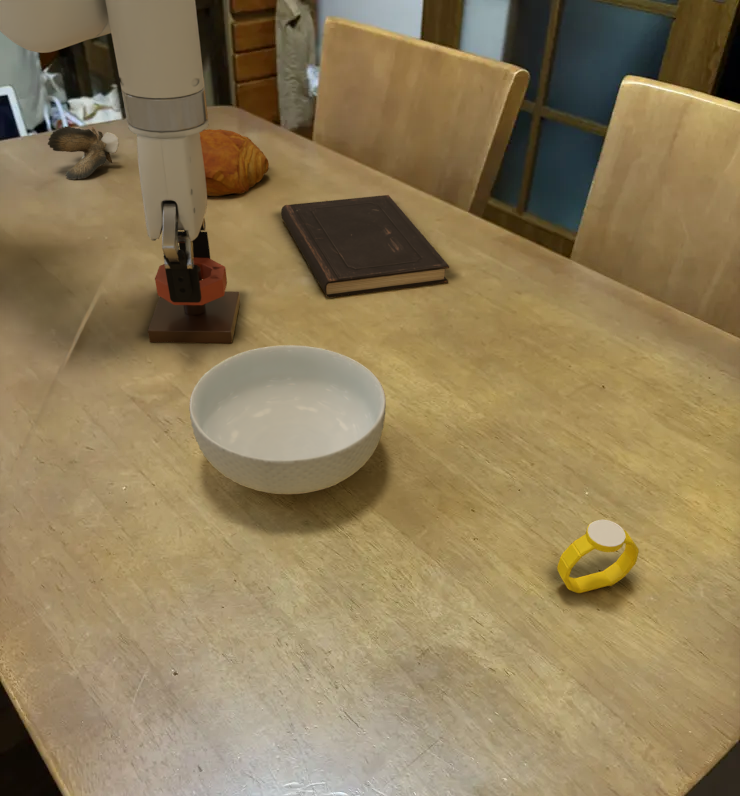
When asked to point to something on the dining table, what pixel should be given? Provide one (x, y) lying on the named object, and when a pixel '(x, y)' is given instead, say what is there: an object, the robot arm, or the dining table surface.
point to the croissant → (230, 162)
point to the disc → (209, 286)
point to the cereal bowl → (288, 418)
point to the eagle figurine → (84, 148)
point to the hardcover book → (362, 246)
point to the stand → (195, 320)
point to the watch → (603, 539)
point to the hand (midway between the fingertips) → (191, 282)
